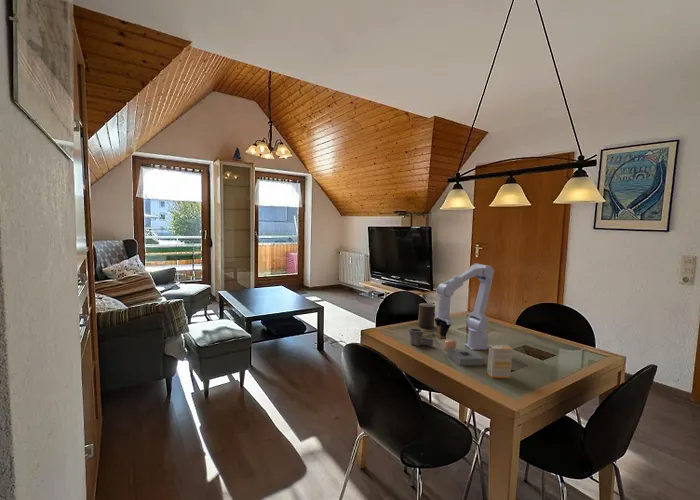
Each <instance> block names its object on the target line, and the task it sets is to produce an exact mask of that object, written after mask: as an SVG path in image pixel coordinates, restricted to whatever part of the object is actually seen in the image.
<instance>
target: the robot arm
mask: <svg viewBox="0 0 700 500" xmlns="http://www.w3.org/2000/svg"><path fill="white" fill-rule="evenodd" d="M494 273H495V270H494V268H493V266H491V265H487V264H481V263H476V262H475V263H473V264H472V265H470V267H469V268H468V269H467V270H465V271H464V272H462V274H460V275H453V276H452V278H450V279H449V280H446V281H445V282H441V283H440V284H438V286H437V288H436V293H437V297H438V301H437V312H435V315H434V323H435V324H436V327H437V326H441V336H446V337H447V334H448V331H449V328H450V327H451V326H452V322H453V321H452V319H451V317H450V311H451V297H452V296H453V295H454V292H456V291H457V290H458V289H459V288H462V287H463V285H464V282H467V281H468V280H470V279H472V278H473V277H476V279H477V280H478V281H479V286H478V291H477V296H476V298H475V299H476V300H475V304H474V308H473V310H472V311H471V312H470V313H468V316H467V318H466V321H465V325H466V327H467V329H468V336H467V342H464V345H465V347H467V348H468V349H472V350H473V351H475V350H478V351H479V350H489V347H488V346H489V343H488V342H489V334H488V331H486V330H487V329H488V316H486V314H485V313H486V309H487V305H488V300H489V296H490V292H491V287H492V282H493V278H494Z"/></svg>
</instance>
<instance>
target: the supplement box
mask: <svg viewBox="0 0 700 500" xmlns="http://www.w3.org/2000/svg"><path fill="white" fill-rule="evenodd" d="M513 350H514V349H513V348H512V347H511V346H509V345H508V344H488V354H487V355H488V358H487V369H486V374H487V375H488V376H489V377H490V379H511V371H512V360H513Z"/></svg>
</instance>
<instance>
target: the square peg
mask: <svg viewBox="0 0 700 500" xmlns="http://www.w3.org/2000/svg"><path fill="white" fill-rule="evenodd" d="M436 338H437V339H438V340H445V339H447V335H446V336H441V326H437V325H436Z"/></svg>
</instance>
